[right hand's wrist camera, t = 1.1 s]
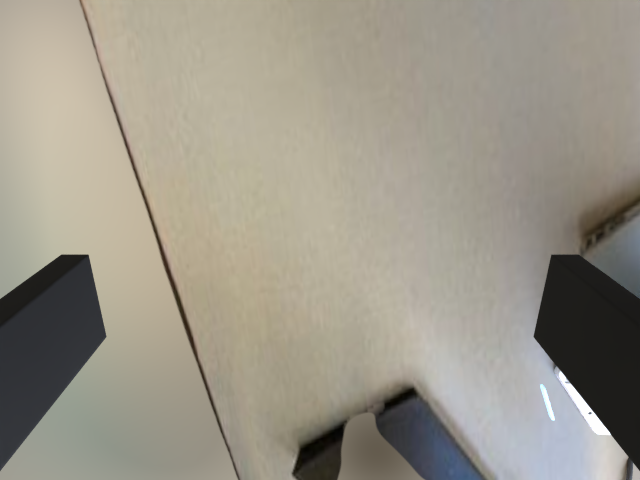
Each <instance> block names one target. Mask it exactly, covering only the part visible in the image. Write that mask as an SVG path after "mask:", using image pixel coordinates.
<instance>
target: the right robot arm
mask: <svg viewBox="0 0 640 480" xmlns="http://www.w3.org/2000/svg"><path fill="white" fill-rule="evenodd" d="M105 338H106V333H105V328H104V324H103V319H102V314H101V310H100V305H99V301H98V296H97V291H96V287H95V282H94V278H93V273H92V269H91V264H90V259H89V255H60V256H59V257H58V258H56V259H55V260H54V261H52V262H51V263H49V264H48V265H47V266H45V267H44V268H42V269H41V270H40V271H38V272H37V273H36V274H34V275H33V276H31V277H30V278H29V279H27V280H26V281H24V282H23V283H22V284H20V285H19V286H18V287H16V288H15V289H13V290H12V291H11V292H9V293H8V294H7V295H5V296H4V297H2V298H1V299H0V471H1V469H2V468H3V467H4V465H5V464H6V463H7V462H8V460H9V459H10V458H11V457H12V455H13V454H14V453H15V452H16V450H17V449H18V448H19V447H20V445H21V444H22V443H23V441H24V440H25V439H26V438H27V436H28V435H29V434H30V433H31V431H32V430H33V429H34V428H35V426H36V425H37V424H38V423H39V421H40V420H41V419H42V417H43V416H44V415H45V414H46V412H47V411H48V410H49V409H50V407H51V406H52V405H53V404H54V402H55V401H56V400H57V398H58V397H59V396H60V395H61V394H62V392H63V391H64V390H65V388H66V387H67V386H68V385H69V383H70V382H71V381H72V380H73V378H74V377H75V376H76V374H77V373H78V372H79V371H80V369H81V368H82V367H83V366H84V364H85V363H86V362H87V361H88V359H89V358H90V357H91V356H92V354H93V353H94V352H95V351H96V349H97V348H98V347H99V346H100V344H101V343H102V342H103V340H104V339H105ZM534 338H535V339H536V341H537V342H538V343H539V344H540V346H541V347H542V348H543V349H544V351H545V352H546V353H547V354H548V356H549V357H550V358H551V359H552V361H553V362H554V363H555V364H556V366H557V367H558V368H559V370H560V371H561V372H562V373H563V375H564V376H565V377H566V378H567V380H568V381H569V382H570V383H571V385H572V386H573V387H574V388H575V390H576V391H577V392H578V394H579V395H580V396H581V397H582V399H583V400H584V401H585V402H586V404H587V405H588V406H589V407H590V409H591V410H592V411H593V412H594V414H595V415H596V416H597V417H598V419H599V420H600V421H601V423H602V424H603V425H604V426H605V428H606V429H607V430H608V431H609V433H610V434H611V435H612V436H613V438H614V439H615V440H616V441H617V443H618V444H619V445H620V447H621V448H622V449H623V450H624V452H625V453H626V454H627V455H628V457H629V458H630V459H631V460H632V462H633V463H634V464H635V465H636V467H637V468H638V469H639V471H640V299H639V298H638V297H636V296H635V295H633V294H632V293H631V292H629V291H628V290H627V289H625V288H624V287H622V286H621V285H620V284H618V283H617V282H616V281H614V280H613V279H611V278H610V277H609V276H607V275H606V274H605V273H603V272H602V271H600V270H599V269H598V268H596V267H595V266H593V265H592V264H591V263H589V262H588V261H587V260H585V259H584V258H582V257H581V256H580V255H551V259H550V264H549V269H548V273H547V278H546V282H545V287H544V291H543V296H542V301H541V305H540V310H539V314H538V319H537V324H536V328H535V333H534Z"/></svg>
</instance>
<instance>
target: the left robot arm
mask: <svg viewBox="0 0 640 480" xmlns="http://www.w3.org/2000/svg"><path fill="white" fill-rule="evenodd" d="M554 372H555V374H556V376H557V377H558V379H559V380H560V382H561V384H562V385H563V387H564V388H565V390H566V391H567V393H568V394H569V396H570V397H571V399H572V400H573V402H574V403H575V405H576V406H577V408H578V409H579V411H580V412H581V414H582V415H583V417H584V418H585V420H586V421H587V423H588V424H589V426H590V427H591V428H592V430H593V431H594V432H595V433H597V434H603V435H611V434H610V433H609V431H608V430H607V429H606V428H605V426H604V425H603V424H602V423H601V421H600V420H599V419H598V417H597V416H596V415H595V414H594V412H593V411H592V410H591V409H590V407H589V406H588V405H587V404H586V402H585V401H584V400H583V399H582V397H581V396H580V395H579V394H578V392H577V391H576V390H575V388H574V387H573V386H572V385H571V383H570V382H569V381H568V380H567V378H566V377H565V376H564V375H563V373H562V372H561V371H560V370H559V368H558V367H557V366H556V367H555V370H554ZM540 386H541V390H542V393H543V396H544V400H545V403H546V406H547V409H548V413H549V416H550V417H551V419H552V420H555V419H554V416H553V412H552V409H551V406H550V402H549V399H548V396H547V392H546V389H545V388H544V386H543V385H540ZM632 472H633V462H632V460H631V459H630V458H629V459H628V466H627V478H626V480H632Z"/></svg>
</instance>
